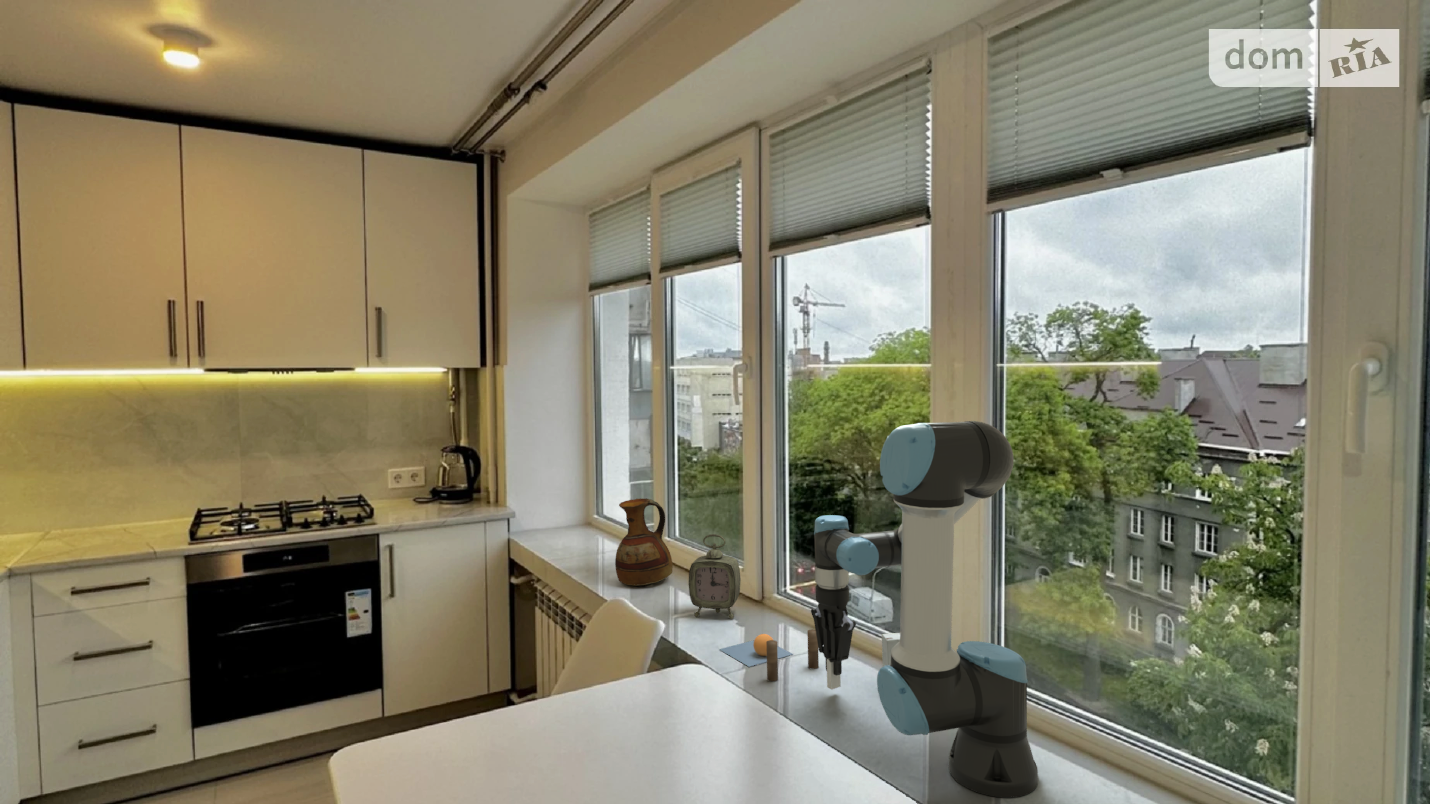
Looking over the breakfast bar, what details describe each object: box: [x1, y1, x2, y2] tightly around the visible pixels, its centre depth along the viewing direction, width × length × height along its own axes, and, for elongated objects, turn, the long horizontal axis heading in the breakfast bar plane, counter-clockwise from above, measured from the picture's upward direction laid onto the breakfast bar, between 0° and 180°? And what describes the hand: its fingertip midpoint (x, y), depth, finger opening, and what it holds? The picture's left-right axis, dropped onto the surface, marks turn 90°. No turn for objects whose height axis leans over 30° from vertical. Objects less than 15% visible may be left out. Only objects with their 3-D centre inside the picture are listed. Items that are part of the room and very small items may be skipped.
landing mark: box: [718, 639, 794, 668], centre depth 193 cm, size 14×14×1 cm
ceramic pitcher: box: [614, 497, 673, 586], centre depth 260 cm, size 20×20×30 cm
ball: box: [753, 633, 774, 656], centre depth 191 cm, size 6×6×6 cm
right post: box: [807, 628, 820, 670], centre depth 183 cm, size 3×3×9 cm
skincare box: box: [881, 632, 900, 667], centre depth 170 cm, size 6×4×12 cm
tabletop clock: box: [688, 533, 742, 620], centre depth 223 cm, size 14×9×25 cm, turn 76°
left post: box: [766, 639, 779, 682], centre depth 176 cm, size 3×3×9 cm
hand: (833, 686), depth 167 cm, fingers closed
